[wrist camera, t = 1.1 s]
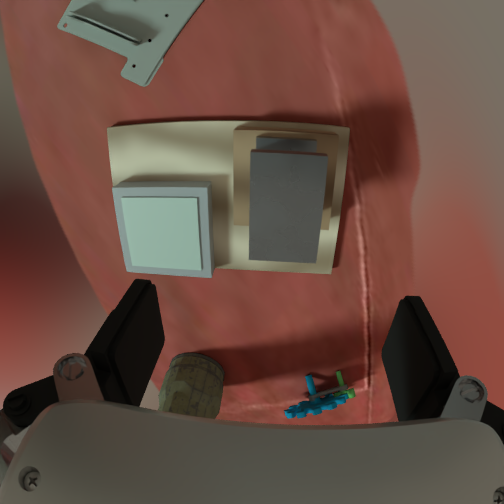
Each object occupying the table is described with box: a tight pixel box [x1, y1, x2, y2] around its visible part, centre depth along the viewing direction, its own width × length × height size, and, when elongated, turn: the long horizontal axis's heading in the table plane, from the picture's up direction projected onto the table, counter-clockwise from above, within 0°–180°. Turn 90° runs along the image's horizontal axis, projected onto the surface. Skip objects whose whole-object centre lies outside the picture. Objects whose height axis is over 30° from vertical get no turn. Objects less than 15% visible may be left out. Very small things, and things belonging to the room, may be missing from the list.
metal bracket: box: [57, 0, 203, 86], centre depth 22 cm, size 14×6×15 cm
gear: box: [284, 371, 356, 418], centre depth 44 cm, size 11×6×10 cm
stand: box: [233, 126, 339, 230], centre depth 29 cm, size 9×9×2 cm
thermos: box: [158, 353, 224, 419], centre depth 31 cm, size 9×12×35 cm
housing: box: [249, 136, 328, 263], centre depth 25 cm, size 8×5×7 cm, turn 179°
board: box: [107, 120, 350, 274], centre depth 32 cm, size 16×24×1 cm, turn 89°
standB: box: [112, 181, 215, 278], centre depth 32 cm, size 10×10×2 cm
